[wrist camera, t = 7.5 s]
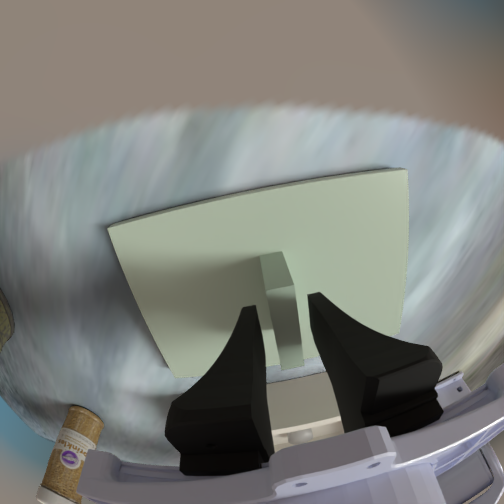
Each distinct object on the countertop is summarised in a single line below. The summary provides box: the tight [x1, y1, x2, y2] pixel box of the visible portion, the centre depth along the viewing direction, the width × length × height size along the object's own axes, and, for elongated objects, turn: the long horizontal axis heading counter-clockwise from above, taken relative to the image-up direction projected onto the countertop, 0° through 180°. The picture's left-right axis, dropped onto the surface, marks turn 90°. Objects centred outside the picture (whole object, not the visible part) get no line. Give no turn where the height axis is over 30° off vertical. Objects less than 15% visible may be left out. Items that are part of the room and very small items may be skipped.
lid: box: [107, 168, 409, 378], centre depth 15 cm, size 17×12×5 cm
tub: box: [266, 372, 344, 453], centre depth 20 cm, size 16×11×4 cm
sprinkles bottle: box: [36, 406, 104, 504], centre depth 16 cm, size 5×5×13 cm
